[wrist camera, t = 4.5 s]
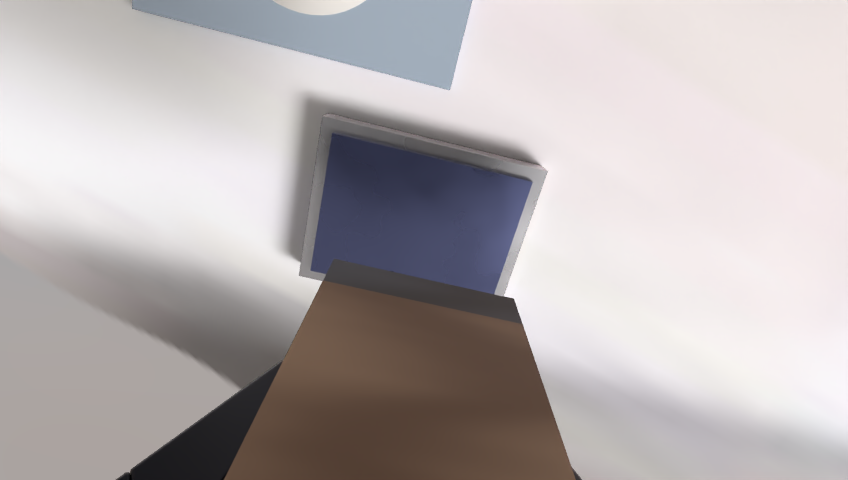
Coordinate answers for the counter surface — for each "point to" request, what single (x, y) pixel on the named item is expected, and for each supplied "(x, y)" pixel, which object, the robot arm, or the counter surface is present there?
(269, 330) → the counter surface
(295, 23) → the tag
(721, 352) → the counter surface
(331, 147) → the tray
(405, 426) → the stamp
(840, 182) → the counter surface
